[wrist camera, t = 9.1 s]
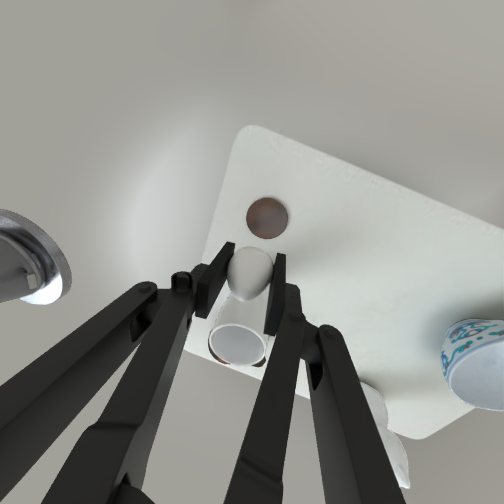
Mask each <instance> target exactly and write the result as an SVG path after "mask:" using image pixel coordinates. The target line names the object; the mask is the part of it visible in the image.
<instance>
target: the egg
mask: <svg viewBox="0 0 504 504" xmlns="http://www.w3.org/2000/svg"><path fill="white" fill-rule="evenodd" d="M273 272H274V265H273V261H272V259H271V257H270V256H269V255H268V254H267V253H266V252H265V251H263V250H261V249H259V248H255V247H245V248H242V249H240V250H238V251H237V252H236V253H235V254H234V255H233V256H232V258H231V259H230V262H229V264H228V268H227V281H228V285H229V288H230V290H231V293H232V294H233V296H234V297H235V298H236V299H237V300H239V301H242V302H248V301H251V300H253V299H255V298H256V297H257V296H259V295H260V294H261V293H262V292H263V291H264V290H265V289H266V288H267V286H268V285H269V283H270V281H271V279H272V276H273Z"/></svg>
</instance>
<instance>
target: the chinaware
mask: <svg viewBox="0 0 504 504" xmlns="http://www.w3.org/2000/svg"><path fill="white" fill-rule="evenodd" d="M440 358H441V366H442V370H443V373H444V376H445V379H446V381H447V383H448V385H449V387H450V389H451V391H452V392H453V393H454V395H455V396H456V397H457V398H459V399H460V400H461V401H463V402H465V403H467V404H469V405H471V406H474V407H478V408H481V409H486V410H494V411H504V320H483V319H467V320H463V321H460V322H458V323H456V324H454V325H453V326H451V327H450V328H449V329H448V331H447V333H446V339H445V341H444V343H443V345H442V348H441V355H440Z"/></svg>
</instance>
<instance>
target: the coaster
mask: <svg viewBox="0 0 504 504" xmlns="http://www.w3.org/2000/svg"><path fill="white" fill-rule="evenodd" d="M246 221H247V225H248V228H249V229H250V231H251V232H252V233H253V234H254V235H256V236H257V237H259V238H263V239H272V238H275V237H277V236H279V235H280V234H281V233H282V232H283V231H284V230H285V228H286V226H287V221H288V216H287V212H286V210H285V208H284V206H283V205H282V204H281V203H280V202H278V201H276V200H274V199H270V198H263V199H260V200H258V201H256V202H254V203H253V204H252V205H251V206H250V208H249V210H248V212H247V216H246Z"/></svg>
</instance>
